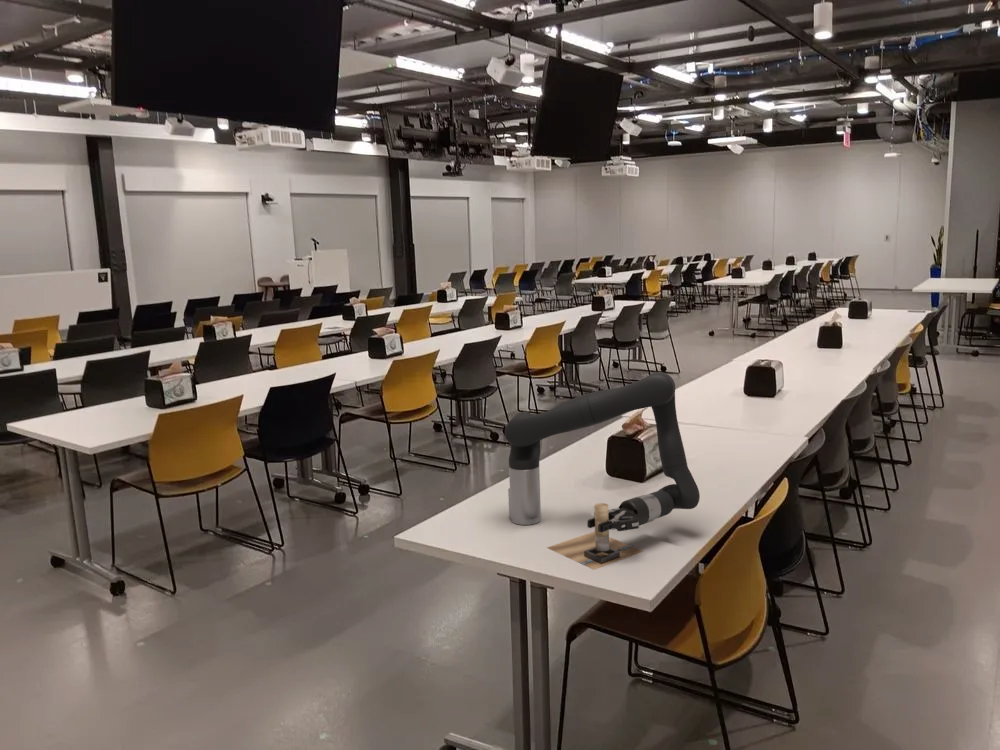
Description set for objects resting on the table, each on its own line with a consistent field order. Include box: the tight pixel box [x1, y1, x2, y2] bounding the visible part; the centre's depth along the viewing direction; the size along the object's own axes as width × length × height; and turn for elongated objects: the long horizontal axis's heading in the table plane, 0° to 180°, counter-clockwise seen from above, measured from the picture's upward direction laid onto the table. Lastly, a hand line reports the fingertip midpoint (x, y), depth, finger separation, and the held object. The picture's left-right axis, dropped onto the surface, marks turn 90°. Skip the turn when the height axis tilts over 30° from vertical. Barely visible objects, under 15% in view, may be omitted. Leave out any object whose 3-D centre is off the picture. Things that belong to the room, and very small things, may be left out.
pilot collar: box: [584, 547, 620, 564], centre depth 208 cm, size 7×7×2 cm
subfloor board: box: [546, 530, 644, 571], centre depth 213 cm, size 19×18×2 cm
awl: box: [594, 502, 610, 552], centre depth 207 cm, size 4×4×12 cm
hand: (593, 526), depth 205 cm, fingers closed on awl, 3 cm apart
